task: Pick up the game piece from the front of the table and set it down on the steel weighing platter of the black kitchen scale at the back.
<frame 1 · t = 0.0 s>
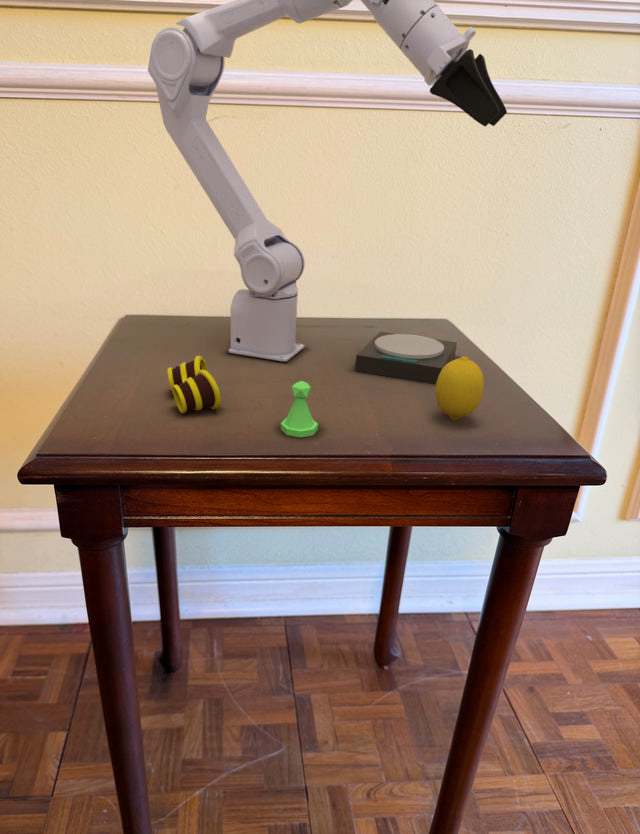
hand: (496, 119, 80), 32 cm above the table, tool tilted 50°, fingers open, 7 cm apart
scale: (405, 366, 100), on the table
game piece: (299, 431, 79), on the table
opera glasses: (193, 403, 85), on the table
lemon: (453, 421, 83), on the table
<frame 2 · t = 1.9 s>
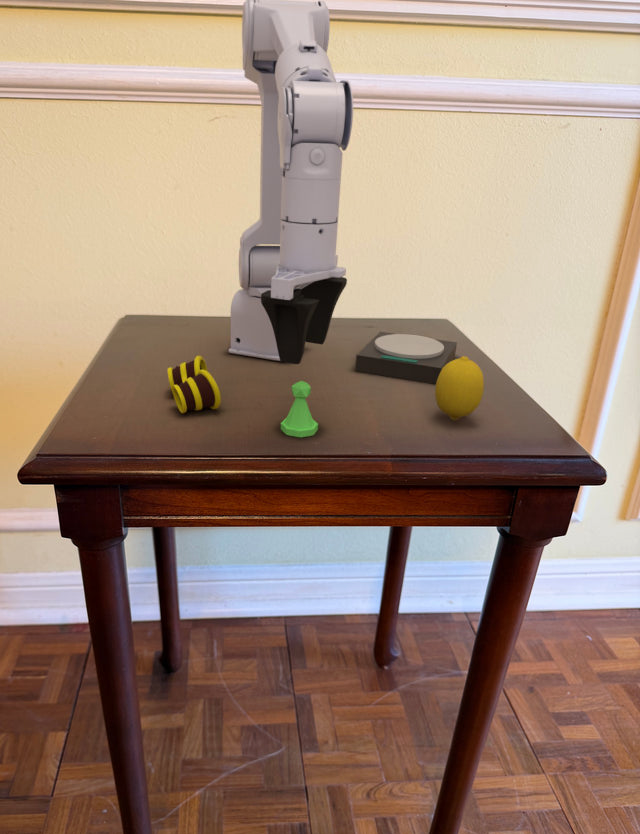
hand: (303, 352, 75), 9 cm above the table, tool pointing down, fingers open, 7 cm apart
nothing on the table moved.
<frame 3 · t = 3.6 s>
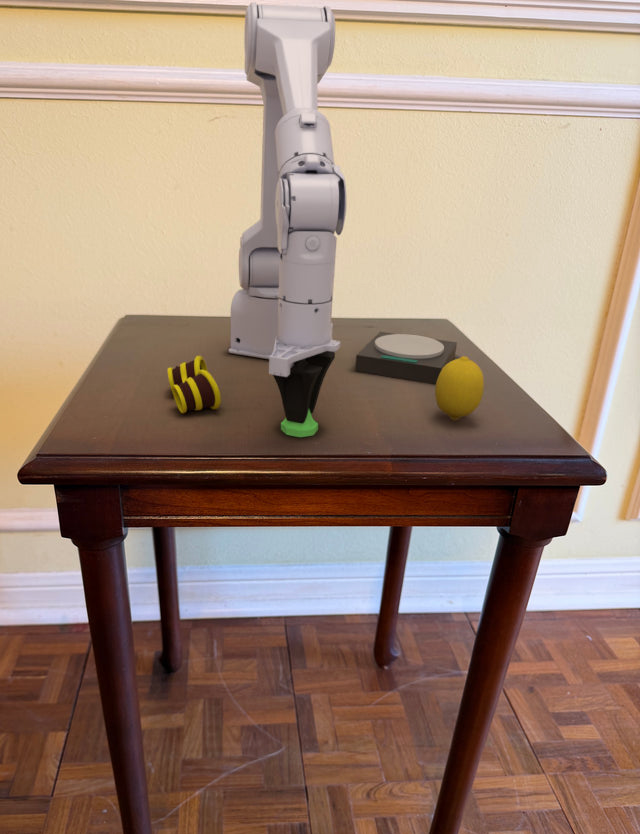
hand: (299, 416, 78), 2 cm above the table, tool pointing down, fingers closed on game piece, 2 cm apart
game piece: (299, 431, 79), on the table, touching gripper
everything else where it was.
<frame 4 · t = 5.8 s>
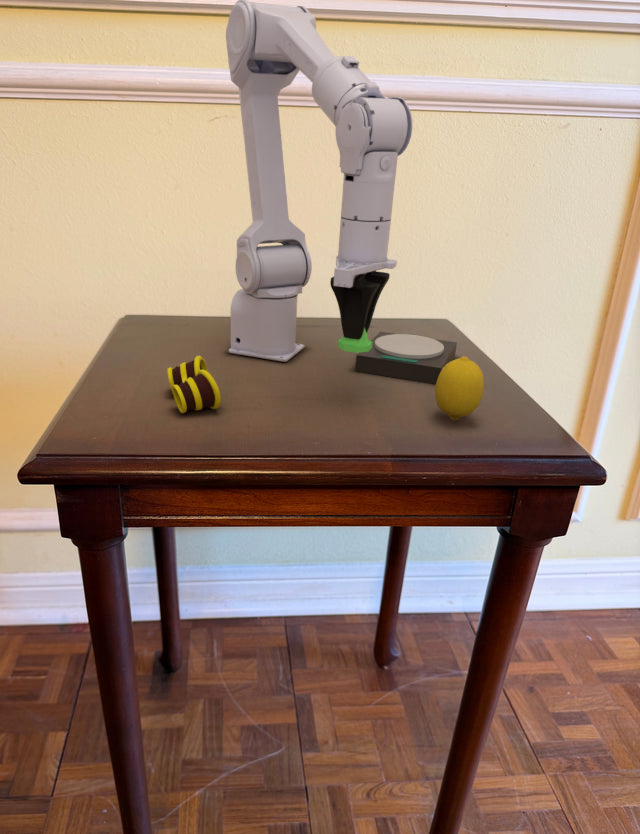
hand: (355, 334, 84), 8 cm above the table, tool pointing down, fingers closed on game piece
game piece: (354, 348, 85), point 7 cm above the table, touching gripper
everything else where it was.
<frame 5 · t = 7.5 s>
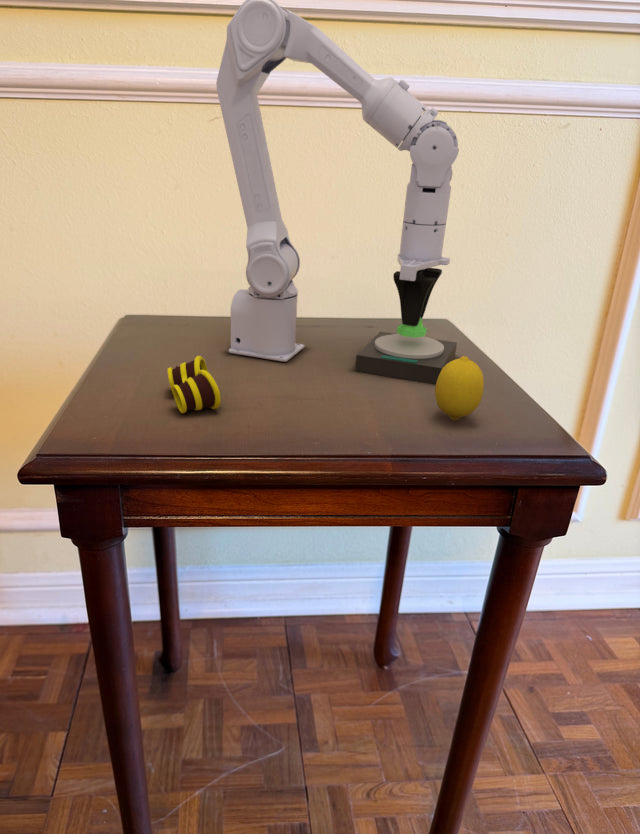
hand: (411, 322, 98), 6 cm above the table, tool pointing down, fingers closed on game piece, 2 cm apart
game piece: (411, 334, 99), point 4 cm above the table, touching gripper
everything else where it was.
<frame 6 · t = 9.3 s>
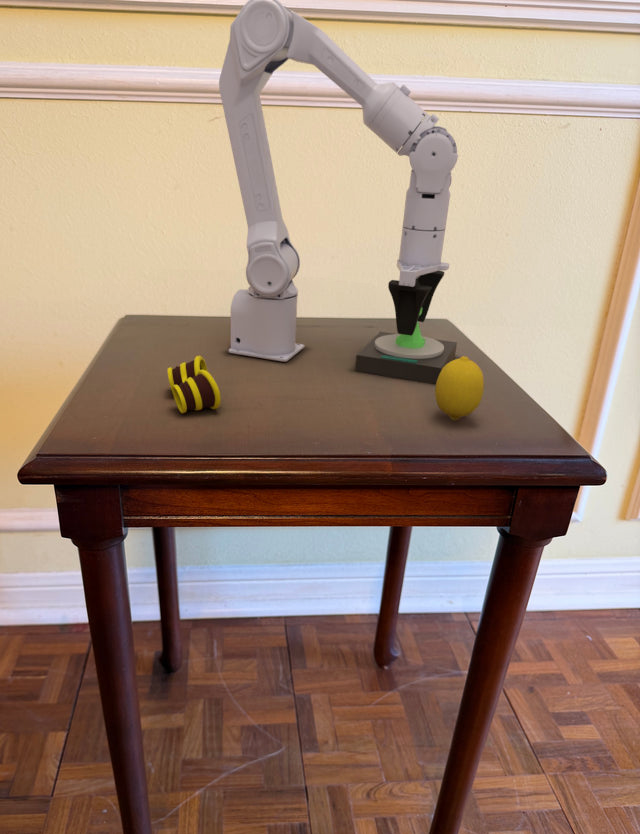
hand: (411, 327, 98), 5 cm above the table, tool pointing down, fingers open, 7 cm apart
game piece: (409, 345, 100), point 3 cm above the table, touching scale
everything else where it was.
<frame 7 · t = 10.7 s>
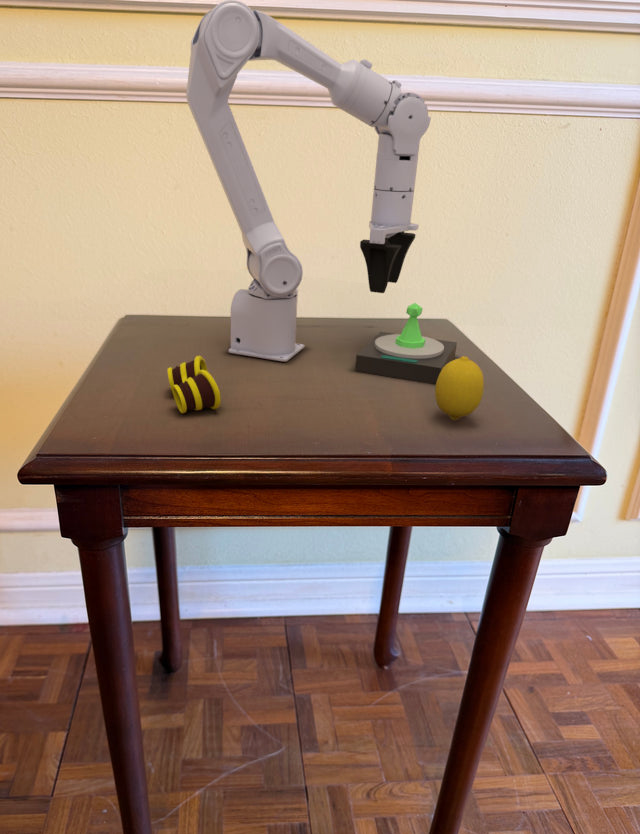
hand: (383, 286, 103), 9 cm above the table, tool pointing down, fingers open, 7 cm apart
nothing on the table moved.
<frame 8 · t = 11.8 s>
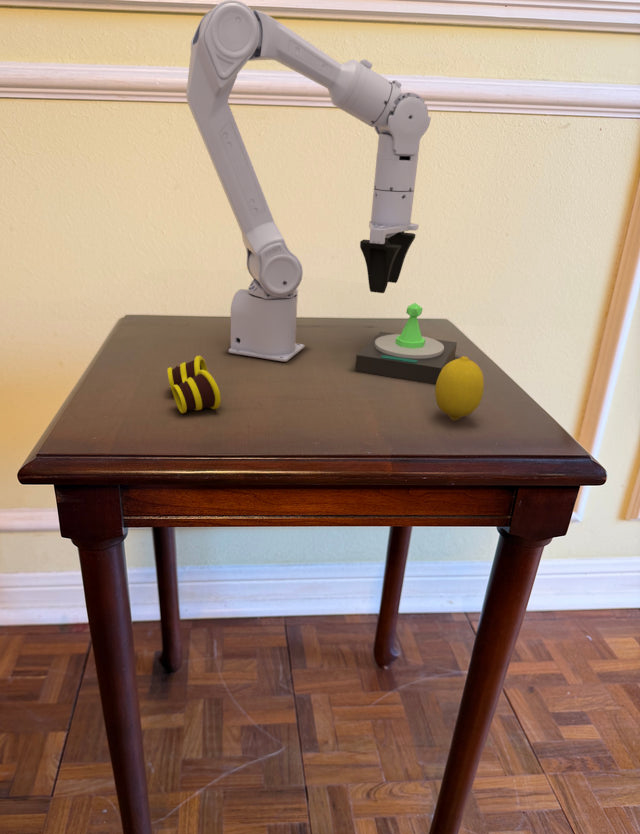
hand: (383, 286, 103), 9 cm above the table, tool pointing down, fingers open, 7 cm apart
nothing on the table moved.
at the end: game piece inside the target area on the scale (0.1 cm from its centre), point 2.8 cm above the scale's base; game piece tilted 0°; the gripper is holding nothing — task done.
